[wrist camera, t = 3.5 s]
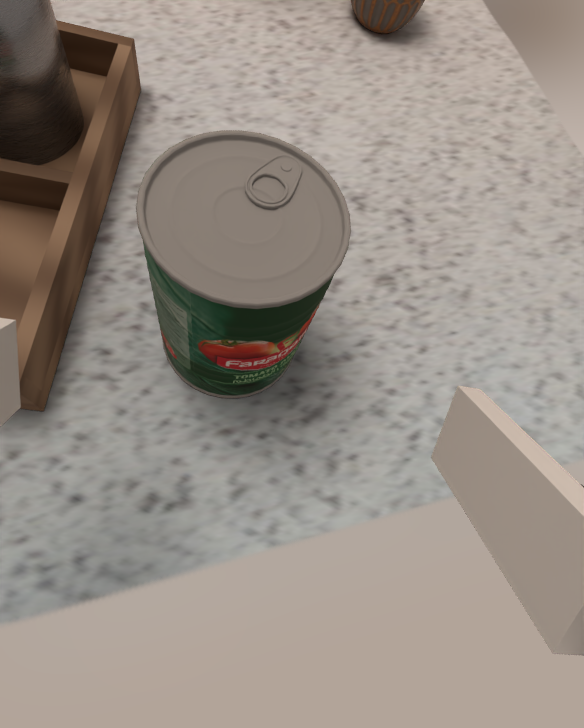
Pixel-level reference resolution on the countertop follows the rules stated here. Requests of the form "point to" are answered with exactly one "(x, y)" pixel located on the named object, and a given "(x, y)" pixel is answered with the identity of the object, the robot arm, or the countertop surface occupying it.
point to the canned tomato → (238, 255)
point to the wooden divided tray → (63, 207)
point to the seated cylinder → (35, 86)
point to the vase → (385, 13)
